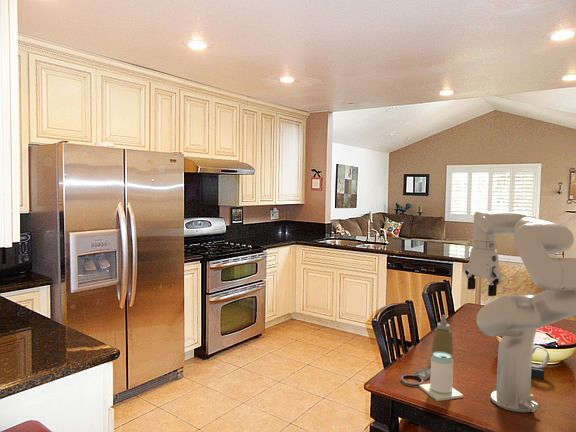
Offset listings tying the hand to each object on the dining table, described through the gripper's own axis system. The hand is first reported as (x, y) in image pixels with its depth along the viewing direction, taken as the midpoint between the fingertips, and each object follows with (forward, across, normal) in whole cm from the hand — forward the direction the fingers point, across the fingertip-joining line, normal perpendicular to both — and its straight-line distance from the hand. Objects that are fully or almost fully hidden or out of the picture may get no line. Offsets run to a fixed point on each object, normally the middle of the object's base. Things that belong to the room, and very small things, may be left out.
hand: (481, 292), depth 153 cm
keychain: (+32, +5, +21) cm, 38 cm away
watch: (+31, -7, -21) cm, 38 cm away
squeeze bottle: (+32, +16, +2) cm, 35 cm away
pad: (+31, -6, +22) cm, 38 cm away
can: (+30, -6, +22) cm, 38 cm away
